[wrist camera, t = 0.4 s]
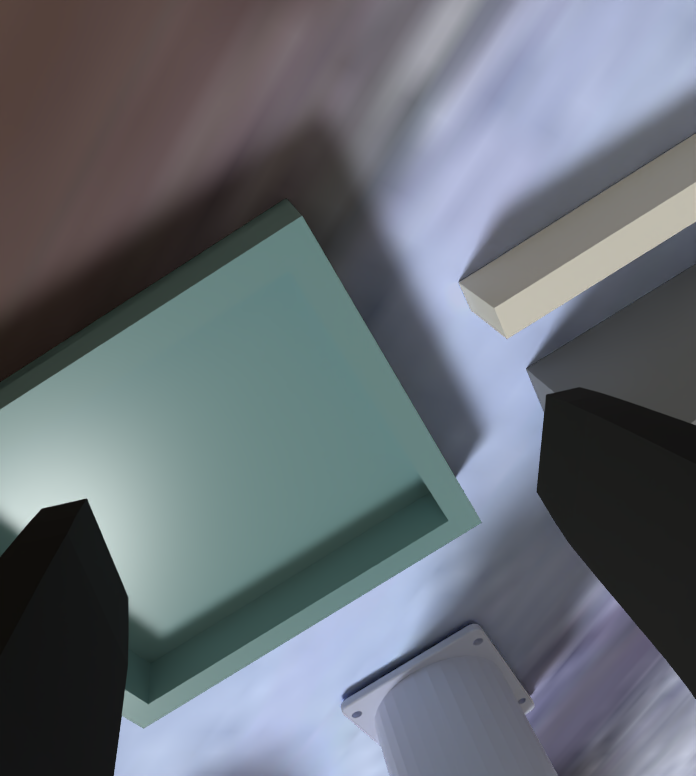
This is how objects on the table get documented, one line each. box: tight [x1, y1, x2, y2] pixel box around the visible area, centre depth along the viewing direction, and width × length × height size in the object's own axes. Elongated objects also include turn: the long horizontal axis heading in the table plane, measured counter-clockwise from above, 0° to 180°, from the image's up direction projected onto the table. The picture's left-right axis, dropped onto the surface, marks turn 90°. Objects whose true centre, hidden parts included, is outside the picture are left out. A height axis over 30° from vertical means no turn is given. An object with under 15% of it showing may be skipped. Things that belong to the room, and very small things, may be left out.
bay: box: [459, 134, 696, 339], centre depth 21 cm, size 14×11×2 cm
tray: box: [0, 199, 482, 729], centre depth 19 cm, size 13×15×2 cm
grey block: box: [526, 264, 696, 425], centre depth 20 cm, size 5×9×6 cm, turn 119°
